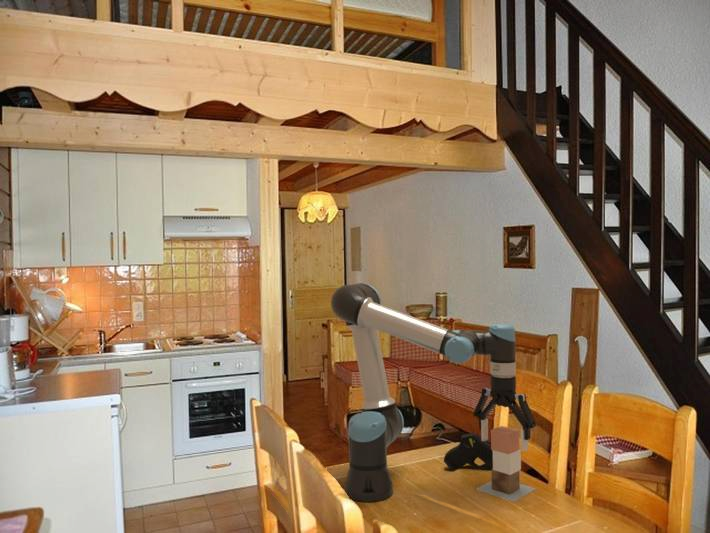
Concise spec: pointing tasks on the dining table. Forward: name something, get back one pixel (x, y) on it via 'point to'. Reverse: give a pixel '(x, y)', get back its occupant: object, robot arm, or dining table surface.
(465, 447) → the taser
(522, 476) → the dining table surface
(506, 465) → the beige cube
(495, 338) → the robot arm
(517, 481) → the brick
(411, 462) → the dining table surface
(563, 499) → the dining table surface
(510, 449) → the brick
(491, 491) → the board
